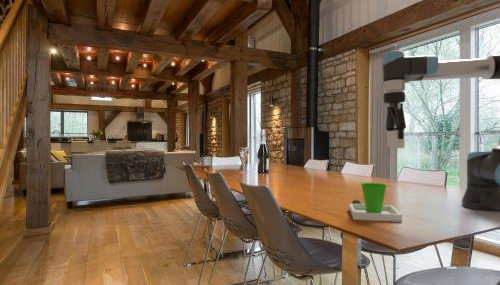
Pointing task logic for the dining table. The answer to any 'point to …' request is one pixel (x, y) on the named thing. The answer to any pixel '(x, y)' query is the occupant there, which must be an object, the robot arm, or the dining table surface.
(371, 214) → the tray
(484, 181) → the robot arm
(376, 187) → the cup
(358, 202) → the ball
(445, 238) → the dining table surface
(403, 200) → the dining table surface
